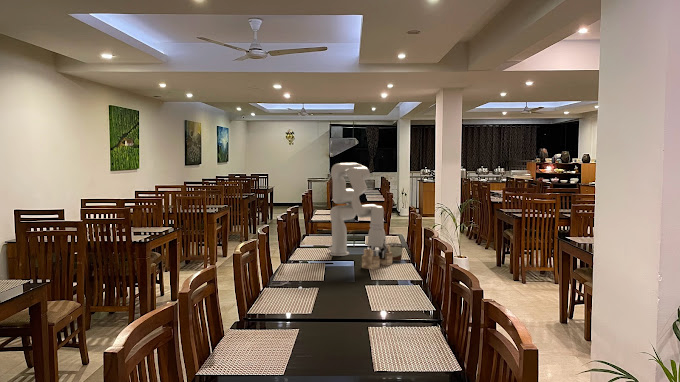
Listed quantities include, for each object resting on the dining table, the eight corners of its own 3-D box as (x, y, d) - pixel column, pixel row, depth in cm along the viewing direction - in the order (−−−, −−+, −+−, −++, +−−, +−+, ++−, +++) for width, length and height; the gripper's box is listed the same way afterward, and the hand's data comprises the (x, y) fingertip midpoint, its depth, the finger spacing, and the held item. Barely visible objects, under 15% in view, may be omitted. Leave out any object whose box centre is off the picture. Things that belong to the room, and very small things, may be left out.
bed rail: (367, 259, 291) (367, 251, 290) (381, 255, 301) (381, 247, 301) (373, 260, 288) (373, 252, 288) (386, 256, 299) (386, 248, 299)
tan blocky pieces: (361, 267, 290) (361, 248, 289) (380, 261, 305) (380, 243, 304) (374, 269, 285) (373, 250, 284) (392, 263, 300) (392, 245, 299)
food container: (403, 258, 313) (403, 242, 312) (403, 261, 307) (403, 244, 306) (383, 258, 314) (383, 242, 313) (383, 260, 308) (383, 244, 307)
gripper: (361, 226, 296) (361, 257, 297) (385, 229, 285) (385, 261, 287) (369, 224, 301) (369, 255, 303) (392, 227, 291) (392, 258, 292)
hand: (377, 257), depth 295 cm, fingers closed on bed rail, 3 cm apart
